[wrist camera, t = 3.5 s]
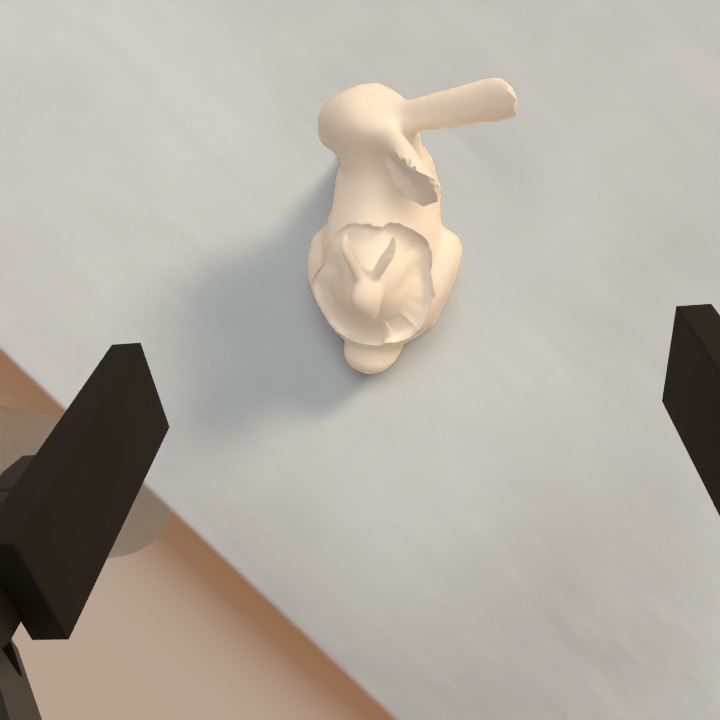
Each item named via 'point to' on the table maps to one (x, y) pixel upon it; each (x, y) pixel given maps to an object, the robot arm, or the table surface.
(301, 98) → the table surface
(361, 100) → the rabbit figurine
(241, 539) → the table surface
